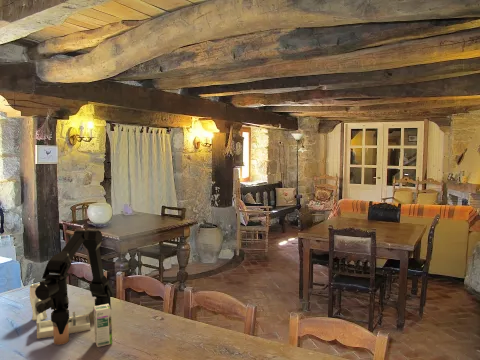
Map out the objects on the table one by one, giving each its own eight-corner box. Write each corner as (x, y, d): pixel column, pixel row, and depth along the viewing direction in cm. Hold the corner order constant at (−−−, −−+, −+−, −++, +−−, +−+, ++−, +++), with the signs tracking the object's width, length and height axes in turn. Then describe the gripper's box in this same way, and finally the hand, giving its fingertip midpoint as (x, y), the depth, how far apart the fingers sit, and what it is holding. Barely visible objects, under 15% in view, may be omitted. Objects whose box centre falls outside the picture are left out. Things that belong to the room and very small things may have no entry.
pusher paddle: (75, 320, 179) (75, 311, 179) (76, 328, 172) (75, 319, 171) (65, 322, 177) (65, 313, 177) (65, 330, 170) (65, 320, 170)
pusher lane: (88, 319, 183) (88, 306, 182) (90, 329, 172) (89, 315, 172) (38, 327, 175) (37, 313, 174) (37, 338, 165) (36, 324, 164)
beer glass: (35, 323, 179) (34, 289, 178) (27, 319, 183) (26, 286, 182) (51, 317, 185) (49, 285, 183) (43, 314, 189) (41, 281, 187)
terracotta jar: (69, 336, 166) (68, 317, 166) (69, 343, 161) (68, 323, 160) (53, 339, 164) (52, 320, 163) (53, 346, 159) (52, 325, 158)
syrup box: (97, 347, 157) (95, 310, 156) (94, 341, 162) (93, 305, 161) (112, 344, 160) (111, 307, 159) (109, 338, 165) (108, 302, 164)
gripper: (37, 285, 166) (39, 323, 168) (34, 302, 149) (37, 343, 151) (67, 282, 171) (69, 318, 172) (68, 297, 154) (70, 338, 155)
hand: (61, 329), depth 162 cm, fingers open, 9 cm apart
